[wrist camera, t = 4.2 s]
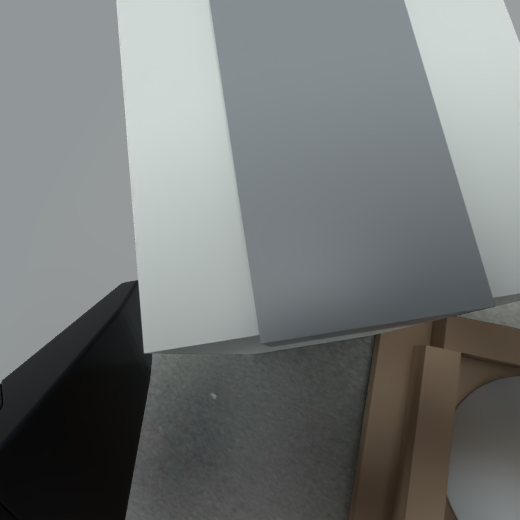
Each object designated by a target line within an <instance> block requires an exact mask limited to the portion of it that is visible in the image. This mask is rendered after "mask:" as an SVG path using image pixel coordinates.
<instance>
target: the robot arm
mask: <svg viewBox="0 0 520 520" xmlns="http://www.w3.org/2000/svg"><path fill="white" fill-rule="evenodd" d="M151 365H152V353H144V347H143V334H142V321H141V308H140V296H139V283H138V280H136V281H130V282H125V283H122V284H120V285H119V286H118V287H117V288H115V289H114V290H113V291H112V292H110V293H109V294H108V295H107V296H106V297H104V298H103V299H102V300H101V301H99V302H98V303H97V304H96V305H94V306H93V307H92V308H91V309H89V310H88V311H87V312H86V313H85V314H83V315H82V316H81V317H80V318H78V319H77V320H76V321H75V322H73V323H72V324H71V325H70V326H69V327H68V328H66V329H65V330H64V331H62V333H60V334H59V335H57V336H56V337H55V338H54V339H53V340H51V341H50V342H49V343H48V344H46V345H45V346H44V347H43V348H42V349H40V350H39V351H38V352H37V353H35V354H34V355H33V356H32V357H30V358H29V359H28V360H27V361H26V362H24V363H23V364H22V365H21V366H20V367H18V368H17V369H16V370H15V371H13V372H12V373H11V374H10V375H8V376H7V377H6V378H5V379H3V380H2V382H1V384H0V520H125V517H126V511H127V506H128V500H129V495H130V489H131V483H132V478H133V472H134V467H135V461H136V455H137V450H138V444H139V439H140V433H141V427H142V422H143V416H144V411H145V405H146V399H147V394H148V388H149V382H150V376H151Z"/></svg>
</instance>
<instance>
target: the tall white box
mask: <svg viewBox="0 0 520 520" xmlns="http://www.w3.org/2000/svg"><path fill="white" fill-rule="evenodd" d="M116 1H117V14H118V28H119V40H120V53H121V66H122V78H123V91H124V104H125V117H126V129H127V141H128V155H129V168H130V180H131V193H132V206H133V219H134V232H135V245H136V257H137V269H138V283H139V296H140V308H141V321H142V334H143V347H144V353H161V354H258V353H265V352H271V351H277V350H284V349H290V348H296V347H303V346H309V345H316V344H322V343H328V342H335V341H341V340H347V339H354V338H360V337H366V336H372V335H376V334H380V333H384V332H388V331H393V330H397V329H401V328H405V327H409V326H414V325H418V324H422V323H426V322H431V321H435V320H440V319H444V318H448V317H452V316H457V315H461V314H465V313H469V312H474V311H478V310H482V309H486V308H491V307H495V306H498V305H502V304H506V303H511V302H515V301H519V300H520V43H519V40H518V38H517V35H516V32H515V30H514V27H513V24H512V22H511V19H510V17H509V14H508V11H507V8H506V6H505V3H504V0H116Z"/></svg>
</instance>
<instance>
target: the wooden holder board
mask: <svg viewBox="0 0 520 520" xmlns="http://www.w3.org/2000/svg"><path fill="white" fill-rule="evenodd" d="M348 520H520V329H517V328H512V327H507V326H502V325H497V324H492V323H487V322H482V321H477V320H472V319H467V318H462V317H457V316H452V317H448V318H444V319H440V320H435V321H431V322H426V323H422V324H418V325H414V326H409V327H405V328H401V329H397V330H393V331H388V332H384V333H380V334H376V337H375V344H374V351H373V357H372V364H371V371H370V377H369V384H368V391H367V397H366V404H365V411H364V417H363V424H362V430H361V437H360V444H359V450H358V457H357V464H356V470H355V477H354V484H353V490H352V497H351V504H350V510H349V517H348Z"/></svg>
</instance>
